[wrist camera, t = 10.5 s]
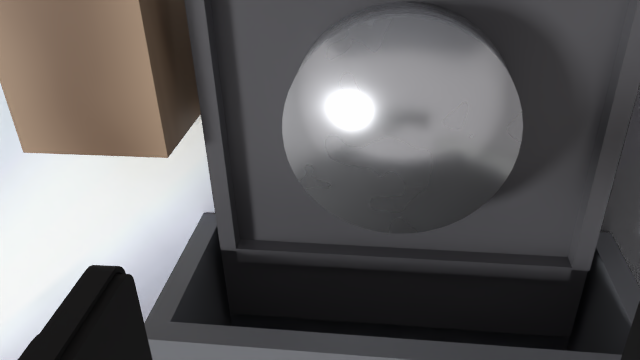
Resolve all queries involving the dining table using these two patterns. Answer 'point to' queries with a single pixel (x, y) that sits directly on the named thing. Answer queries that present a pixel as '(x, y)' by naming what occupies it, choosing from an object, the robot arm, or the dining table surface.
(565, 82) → the tray
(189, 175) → the dining table surface
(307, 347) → the grey drawer box
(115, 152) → the pedestal
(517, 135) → the disc
